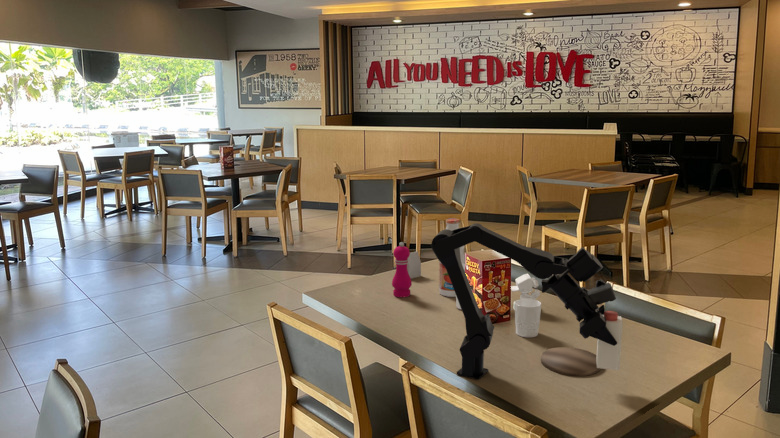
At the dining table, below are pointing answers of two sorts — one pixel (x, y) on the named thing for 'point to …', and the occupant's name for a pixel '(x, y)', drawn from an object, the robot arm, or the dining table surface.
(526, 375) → the dining table surface
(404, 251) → the pepper mill
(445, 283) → the fruit juice
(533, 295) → the character figurine
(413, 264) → the tea bag
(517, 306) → the white cup
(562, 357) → the walnut serving board
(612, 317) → the square squeeze bottle
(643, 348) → the dining table surface
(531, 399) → the dining table surface
